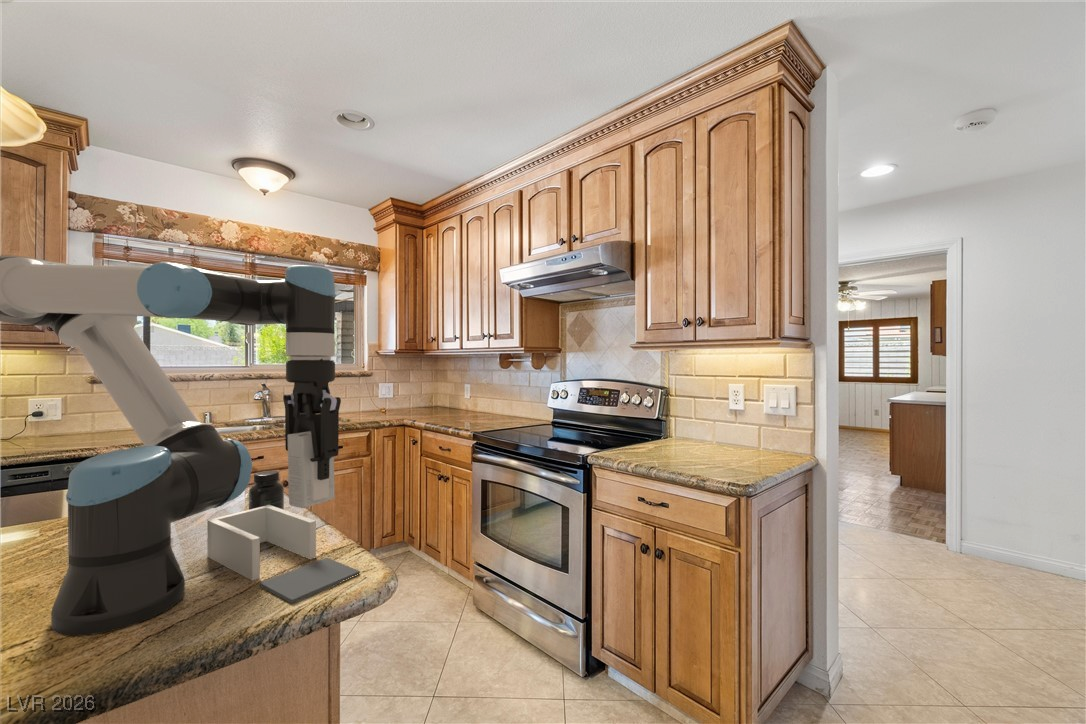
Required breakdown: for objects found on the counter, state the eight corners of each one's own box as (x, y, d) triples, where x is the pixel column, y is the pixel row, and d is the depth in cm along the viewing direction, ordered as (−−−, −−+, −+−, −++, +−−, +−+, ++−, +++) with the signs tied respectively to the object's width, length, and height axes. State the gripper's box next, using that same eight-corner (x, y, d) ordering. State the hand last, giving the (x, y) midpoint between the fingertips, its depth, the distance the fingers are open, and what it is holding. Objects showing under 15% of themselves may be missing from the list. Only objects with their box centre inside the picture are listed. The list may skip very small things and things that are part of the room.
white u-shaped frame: (252, 580, 81) (252, 539, 81) (207, 556, 91) (207, 520, 91) (316, 557, 91) (315, 520, 91) (269, 538, 100) (269, 504, 100)
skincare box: (319, 496, 85) (318, 428, 85) (336, 499, 83) (335, 430, 83) (286, 506, 80) (285, 433, 80) (304, 509, 78) (302, 435, 78)
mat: (292, 603, 74) (292, 599, 74) (259, 586, 80) (259, 582, 80) (359, 574, 84) (359, 571, 84) (326, 560, 90) (326, 557, 89)
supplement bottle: (245, 525, 108) (245, 472, 108) (279, 518, 112) (279, 467, 112) (252, 534, 103) (252, 478, 103) (287, 526, 107) (287, 473, 107)
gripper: (362, 359, 80) (362, 498, 80) (303, 358, 89) (304, 483, 90) (319, 359, 73) (320, 510, 74) (261, 358, 83) (262, 492, 83)
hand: (311, 495), depth 82 cm, fingers closed on skincare box, 4 cm apart
